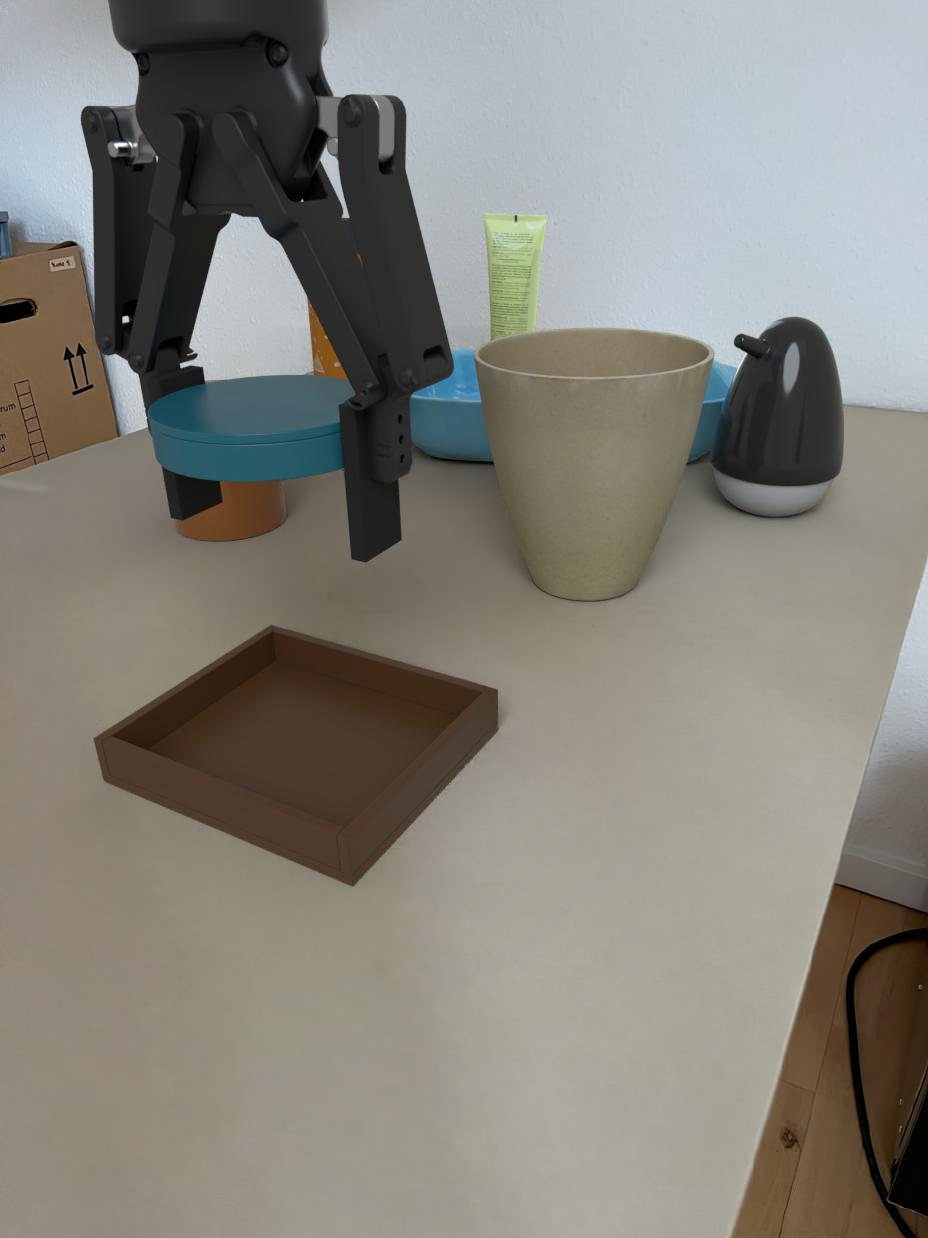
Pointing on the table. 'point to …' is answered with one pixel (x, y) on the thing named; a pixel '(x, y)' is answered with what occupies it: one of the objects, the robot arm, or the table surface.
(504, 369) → the plant pot
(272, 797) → the tray
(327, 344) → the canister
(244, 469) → the lid
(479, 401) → the casserole dish
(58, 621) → the table surface
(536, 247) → the tube
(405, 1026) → the table surface
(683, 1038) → the table surface
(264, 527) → the jam jar
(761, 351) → the pump dispenser
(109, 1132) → the table surface
